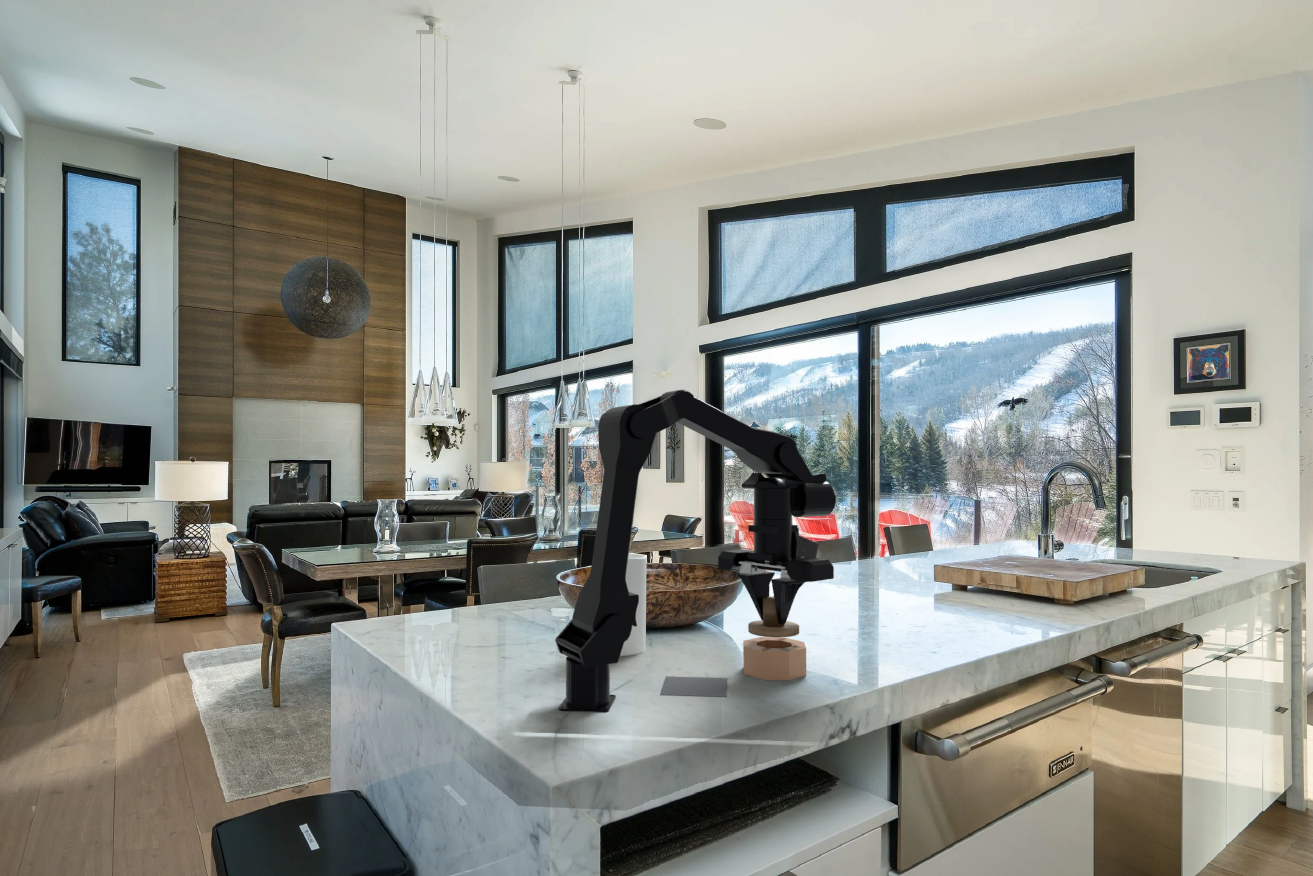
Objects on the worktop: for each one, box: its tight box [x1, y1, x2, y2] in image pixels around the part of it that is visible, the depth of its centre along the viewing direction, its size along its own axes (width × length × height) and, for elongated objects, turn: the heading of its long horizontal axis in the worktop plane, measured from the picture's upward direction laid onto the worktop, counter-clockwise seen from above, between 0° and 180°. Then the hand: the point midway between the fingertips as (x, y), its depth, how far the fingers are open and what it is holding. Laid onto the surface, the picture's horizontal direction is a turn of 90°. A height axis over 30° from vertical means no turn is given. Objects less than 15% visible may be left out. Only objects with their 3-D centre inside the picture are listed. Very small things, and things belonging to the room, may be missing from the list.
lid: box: [747, 596, 800, 638], centre depth 114 cm, size 8×8×5 cm
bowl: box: [742, 636, 807, 681], centre depth 114 cm, size 9×9×4 cm
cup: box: [620, 553, 647, 657], centre depth 128 cm, size 8×8×16 cm
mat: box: [659, 675, 728, 698], centre depth 106 cm, size 9×9×1 cm
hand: (773, 622), depth 114 cm, fingers closed on lid, 3 cm apart
